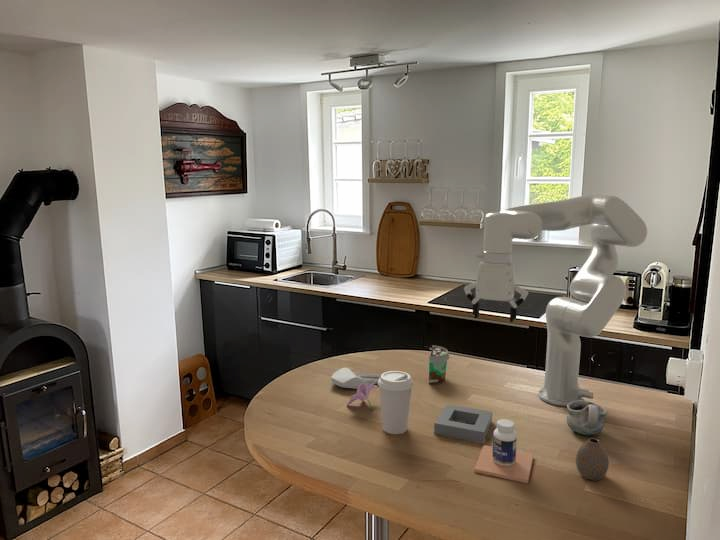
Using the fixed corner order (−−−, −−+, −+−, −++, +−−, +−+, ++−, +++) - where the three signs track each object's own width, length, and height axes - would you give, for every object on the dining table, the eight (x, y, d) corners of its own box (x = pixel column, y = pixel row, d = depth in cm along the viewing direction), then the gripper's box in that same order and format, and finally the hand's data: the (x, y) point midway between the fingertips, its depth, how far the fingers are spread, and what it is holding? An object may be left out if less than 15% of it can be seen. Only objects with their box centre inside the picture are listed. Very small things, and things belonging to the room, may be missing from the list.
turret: (391, 392, 178) (394, 378, 177) (334, 391, 170) (336, 377, 170) (380, 381, 187) (382, 368, 186) (325, 380, 180) (327, 366, 179)
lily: (383, 403, 166) (371, 375, 167) (391, 403, 156) (379, 374, 157) (350, 418, 163) (339, 390, 165) (357, 420, 153) (344, 390, 154)
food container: (447, 387, 175) (448, 358, 174) (428, 386, 177) (429, 356, 175) (449, 373, 187) (450, 346, 186) (431, 372, 189) (432, 344, 187)
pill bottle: (489, 463, 129) (490, 424, 127) (495, 452, 133) (497, 415, 132) (512, 469, 126) (514, 430, 124) (518, 458, 131) (520, 420, 129)
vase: (569, 468, 128) (572, 433, 127) (597, 467, 129) (600, 432, 127) (583, 484, 121) (586, 448, 120) (613, 483, 122) (616, 447, 120)
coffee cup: (388, 440, 141) (389, 385, 138) (370, 425, 149) (371, 373, 147) (419, 432, 145) (420, 379, 143) (400, 418, 154) (401, 367, 151)
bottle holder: (491, 421, 152) (492, 411, 151) (483, 443, 140) (483, 432, 139) (446, 413, 157) (446, 403, 156) (434, 433, 145) (434, 423, 144)
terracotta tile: (533, 457, 133) (533, 454, 133) (527, 483, 122) (528, 480, 122) (483, 448, 137) (483, 445, 137) (474, 471, 126) (474, 468, 126)
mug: (595, 423, 151) (598, 389, 149) (616, 446, 138) (619, 409, 137) (560, 423, 151) (562, 389, 149) (578, 446, 138) (581, 409, 137)
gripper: (462, 258, 148) (460, 319, 151) (528, 262, 141) (524, 326, 144) (468, 254, 155) (465, 312, 158) (531, 258, 148) (527, 319, 151)
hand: (494, 319), depth 151 cm, fingers open, 9 cm apart
